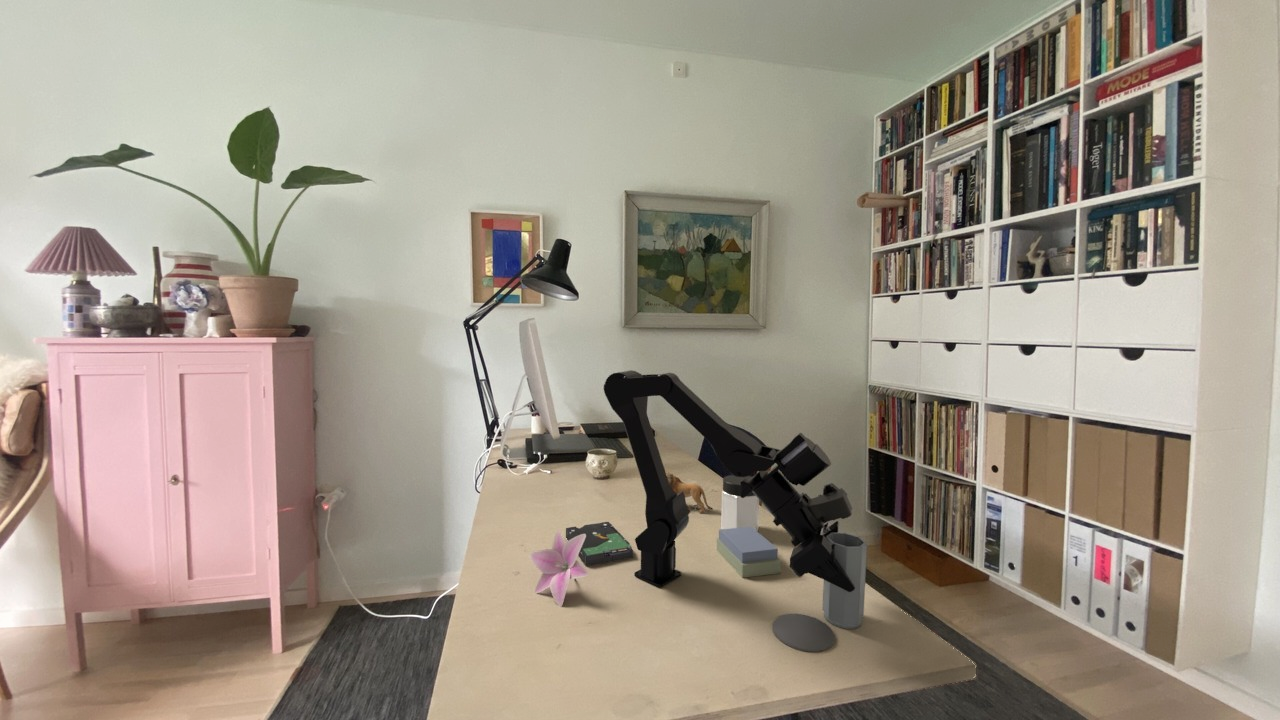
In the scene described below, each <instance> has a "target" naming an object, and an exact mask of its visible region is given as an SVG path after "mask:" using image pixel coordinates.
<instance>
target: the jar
mask: <svg viewBox="0 0 1280 720" xmlns="http://www.w3.org/2000/svg"><path fill="white" fill-rule="evenodd" d="M752 477H753V476H751V475H749V476H746V477H736V476H733V475H732V474H729V475H726V476H724V477H723V478H722V491H721V515H720V516H721V520H720V521H721V522H720V523H721V524H720V527H721V528H720V530H721V529H731V528H742V527H752V528H753V529H755V530H756V531H757V532H758V531H759V523H760V522H759V520H760V519H759V518H760V517H759V516H760V513H759V512H760V500H759V499H758V498H757V497H756V495H755V494H754V493H753V492H751V493H749V494H748V495H747V496H746V497H744V498H741V497H740V494H741V484H740V482H741V481H742V480H743V479H744V478H745V479H751V478H752Z"/></svg>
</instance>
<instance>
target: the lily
mask: <svg viewBox="0 0 1280 720" xmlns="http://www.w3.org/2000/svg"><path fill="white" fill-rule="evenodd" d="M553 538H554V539H553V542H552V547H551V548H544V549H540V550H536V551H533V552H531V553H530V554H529V560H530V561H531V563H532V564H533V565H534V566H535V568H537V570H539V571H540V572H541V573H542V574H541V576H540V577H539V579H538V582H537V584H536V586H535V589H534V593H535V594H539V593H541V592H542V591H545V590H546V589H548V588H549V589H550V592H551V595H552V597H553V600H554V601H555V603H556V605H557V606H558V607H561V608H562V606H563V603H564V601H565V597H566V594H567V588H568V586H569V583H570V580H574V581H577V579H580V578H585V577H588V576H589V572H588V570H587V568H585V567H584V565H583V564H581V562H580V561H578V560H577V559H578V558H579V556H578V554H579V552H580V549H581V547H582V545H583V543H584V540H585V538H586V534H581V535H578V536H576V537H574V538H572V539H570V540H569V541H565V538H564V537H563V535H562V532H561V531H560V530H557V531H556V533H555V535H554V537H553Z"/></svg>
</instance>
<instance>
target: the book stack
mask: <svg viewBox="0 0 1280 720" xmlns="http://www.w3.org/2000/svg"><path fill="white" fill-rule="evenodd" d="M716 551H717V552H718V553H719V554H720V555H721V557H722V558H724V560H725V561H726V562H727V563H728V564H729V565H730V566H731V567H732V569H734V570H735V571H736V573H737V574H738V575H739V576H740V577H741V578H742V579H743V578H750V577H759V576H768V575H774V574H781V573H782V560H781V559H780V558H779V557H778V555H779V550H778V547H776V546H775V545H774V544H773V543H771V541H769V540H768V539H767V538H766V537H764V536H763V535H762V534H761V533H759V532H758V531H756V530H755V529H753V528H752V527H742V528H731V529H721V528H720V529H718V538H716Z"/></svg>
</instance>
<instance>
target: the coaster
mask: <svg viewBox="0 0 1280 720" xmlns="http://www.w3.org/2000/svg"><path fill="white" fill-rule="evenodd" d="M771 630H772V632H773V634H774V636H775V637H776V638H777V639H778V640H779V641H780V642H781V643H782V644H784V645H786V646H788V647H789V648H791V649H792V648H793V649H795V650H798V651H802V652H807V653H808V652H809V653H818V652H824V651H827V650H828V649H830V648H832V647H833V646H834V644H835V633H834V631H833V629H832V628H831V627H830V626H829V625H828V624H826V622H824V621H822V620H821V619H819V618H816V617H814V616H810V615H808V614H804V613H784V614H782V615H780V616H778V617H776V618H775V619H774V620H773V622H772V629H771Z"/></svg>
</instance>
